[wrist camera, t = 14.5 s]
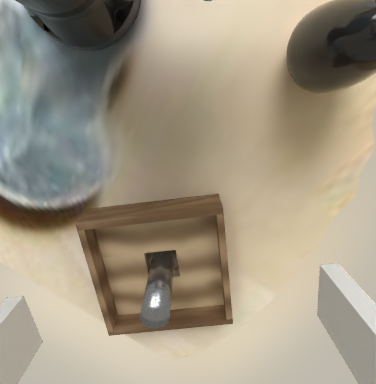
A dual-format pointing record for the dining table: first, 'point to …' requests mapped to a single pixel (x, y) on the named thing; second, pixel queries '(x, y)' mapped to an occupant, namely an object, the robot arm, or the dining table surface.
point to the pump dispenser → (334, 46)
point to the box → (155, 242)
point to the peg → (158, 291)
